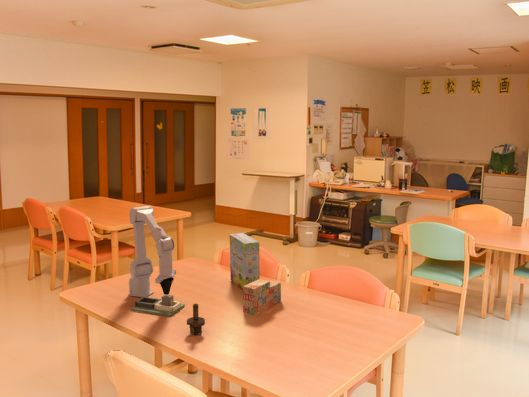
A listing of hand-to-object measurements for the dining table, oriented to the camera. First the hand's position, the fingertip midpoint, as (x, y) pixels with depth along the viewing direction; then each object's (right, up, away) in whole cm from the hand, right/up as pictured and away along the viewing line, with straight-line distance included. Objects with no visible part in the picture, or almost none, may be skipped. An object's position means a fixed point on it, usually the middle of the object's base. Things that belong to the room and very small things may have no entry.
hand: (166, 293), depth 225 cm
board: (-4, -7, +3) cm, 9 cm away
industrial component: (+17, -11, -22) cm, 30 cm away
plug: (+1, -6, +1) cm, 6 cm away
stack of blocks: (+43, -7, +6) cm, 44 cm away
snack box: (+34, -2, +33) cm, 47 cm away
